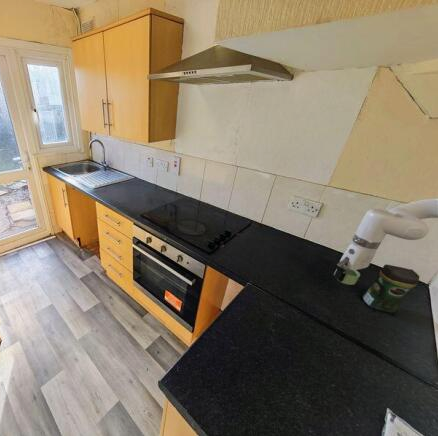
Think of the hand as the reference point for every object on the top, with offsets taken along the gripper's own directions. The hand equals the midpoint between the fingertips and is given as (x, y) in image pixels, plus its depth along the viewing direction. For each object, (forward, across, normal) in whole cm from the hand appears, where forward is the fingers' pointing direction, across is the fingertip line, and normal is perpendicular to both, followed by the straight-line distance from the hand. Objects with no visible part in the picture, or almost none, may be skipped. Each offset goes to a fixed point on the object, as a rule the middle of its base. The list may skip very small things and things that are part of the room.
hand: (344, 277), depth 92 cm
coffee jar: (+9, +11, -9) cm, 17 cm away
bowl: (+1, 0, 0) cm, 1 cm away
